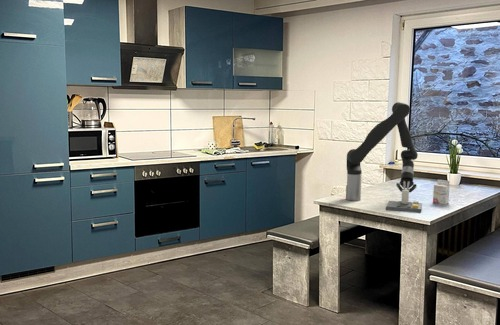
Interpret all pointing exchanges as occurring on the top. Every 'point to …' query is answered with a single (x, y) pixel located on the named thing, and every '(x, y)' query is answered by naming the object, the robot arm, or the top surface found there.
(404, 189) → the robot arm
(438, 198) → the ink cartridge box
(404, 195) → the switch tab
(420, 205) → the switch panel
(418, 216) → the top surface
